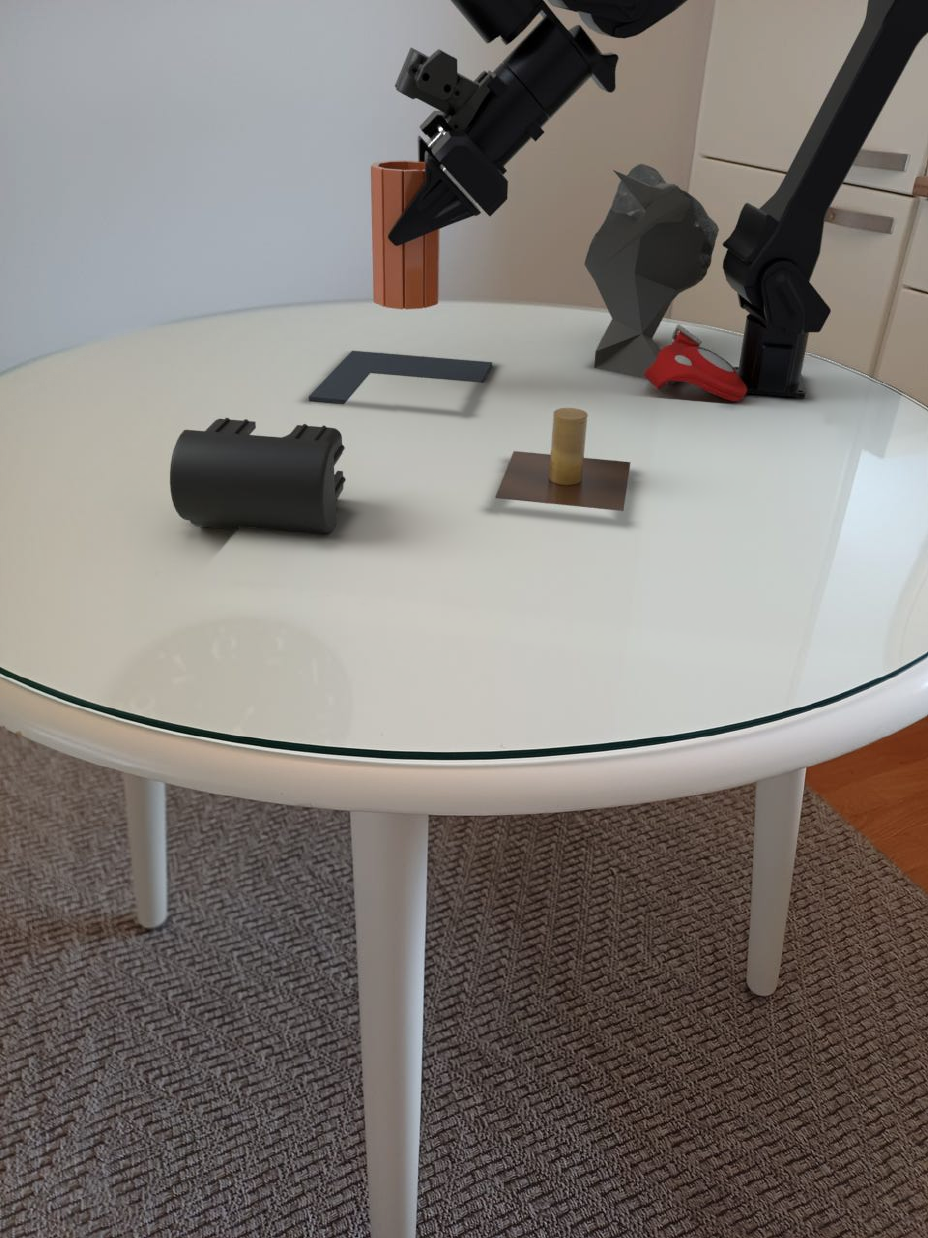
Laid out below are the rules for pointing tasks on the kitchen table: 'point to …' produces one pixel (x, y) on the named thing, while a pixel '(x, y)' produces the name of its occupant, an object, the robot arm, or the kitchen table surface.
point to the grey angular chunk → (646, 264)
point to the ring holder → (566, 470)
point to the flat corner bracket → (393, 372)
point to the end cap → (257, 477)
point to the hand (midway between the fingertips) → (390, 233)
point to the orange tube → (410, 266)
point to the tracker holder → (695, 367)
